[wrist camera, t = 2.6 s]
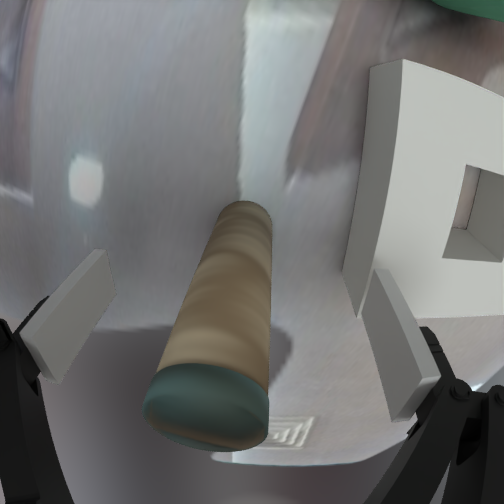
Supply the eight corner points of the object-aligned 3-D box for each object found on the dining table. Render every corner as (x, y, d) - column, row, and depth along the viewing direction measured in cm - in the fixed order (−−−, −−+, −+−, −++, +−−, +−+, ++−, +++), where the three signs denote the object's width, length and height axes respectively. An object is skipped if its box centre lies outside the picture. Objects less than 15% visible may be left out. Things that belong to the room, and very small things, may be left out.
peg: (216, 250, 21) (156, 441, 8) (216, 198, 19) (127, 381, 7) (271, 253, 21) (263, 456, 8) (274, 201, 19) (274, 400, 7)
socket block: (341, 272, 21) (356, 318, 17) (369, 67, 14) (402, 58, 10) (484, 278, 20) (512, 313, 16) (524, 122, 14) (567, 136, 9)
